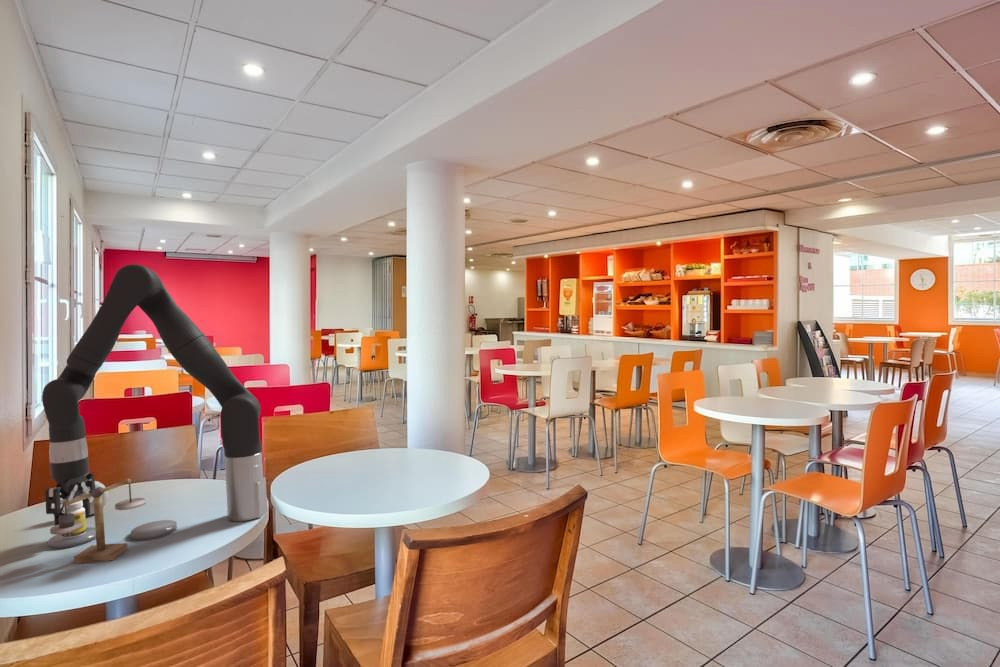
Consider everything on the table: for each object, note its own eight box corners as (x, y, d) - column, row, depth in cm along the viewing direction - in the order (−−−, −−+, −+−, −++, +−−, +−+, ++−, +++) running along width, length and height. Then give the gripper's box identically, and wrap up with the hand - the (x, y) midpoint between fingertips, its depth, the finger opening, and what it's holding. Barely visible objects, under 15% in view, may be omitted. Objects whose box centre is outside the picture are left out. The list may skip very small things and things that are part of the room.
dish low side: (108, 530, 142) (107, 526, 142) (82, 547, 132) (81, 542, 132) (67, 533, 141) (66, 528, 141) (38, 550, 131) (37, 545, 131)
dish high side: (184, 523, 146) (183, 518, 145) (164, 538, 136) (164, 534, 136) (144, 525, 145) (144, 521, 145) (122, 541, 135) (121, 536, 135)
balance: (154, 547, 131) (149, 474, 130) (140, 558, 125) (135, 482, 124) (64, 553, 129) (59, 479, 128) (45, 565, 123) (40, 487, 122)
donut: (64, 521, 150) (62, 485, 149) (66, 517, 153) (64, 482, 152) (108, 513, 155) (106, 478, 154) (110, 510, 158) (108, 475, 157)
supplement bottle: (60, 540, 133) (57, 507, 133) (64, 534, 137) (62, 501, 137) (84, 536, 136) (82, 503, 135) (88, 530, 140) (86, 497, 139)
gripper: (65, 464, 129) (69, 531, 130) (103, 449, 143) (107, 510, 144) (31, 466, 128) (36, 534, 129) (72, 451, 142) (76, 512, 143)
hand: (73, 521), depth 136 cm, fingers open, 8 cm apart
